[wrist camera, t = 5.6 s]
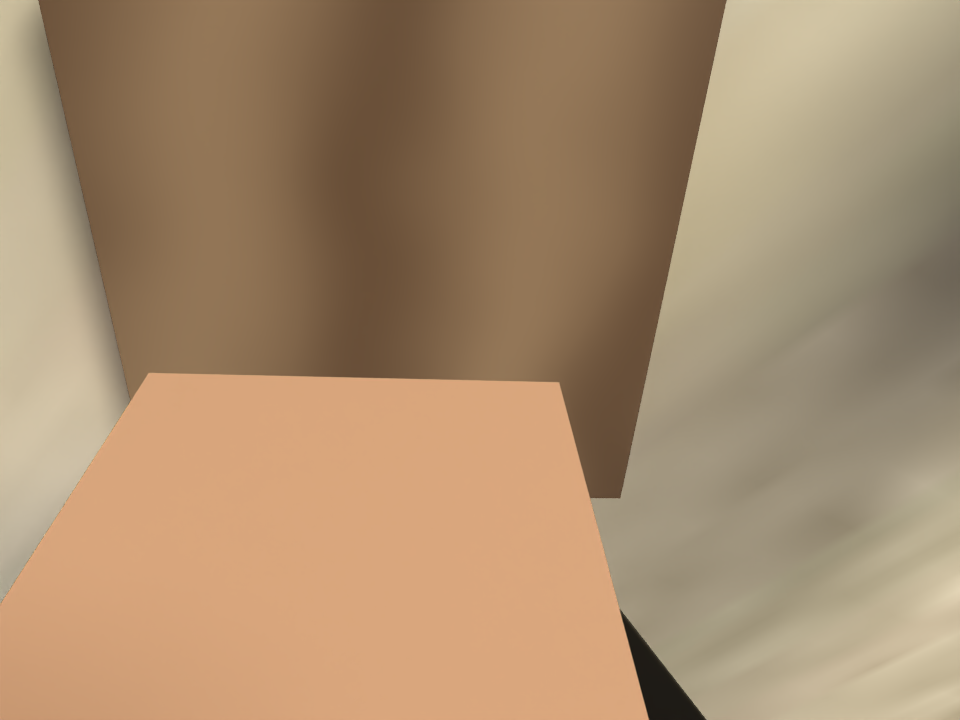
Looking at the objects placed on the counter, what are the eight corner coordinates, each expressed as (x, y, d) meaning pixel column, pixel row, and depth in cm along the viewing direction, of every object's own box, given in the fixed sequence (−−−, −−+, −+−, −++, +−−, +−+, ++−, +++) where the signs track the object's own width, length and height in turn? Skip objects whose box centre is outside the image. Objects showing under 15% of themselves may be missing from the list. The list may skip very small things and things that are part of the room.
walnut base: (694, -19, 14) (728, -11, 13) (604, 450, 21) (620, 498, 19) (77, -60, 14) (24, -59, 12) (176, 444, 20) (151, 493, 18)
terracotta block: (559, 382, 8) (693, 888, 4) (523, 641, 10) (582, 1136, 6) (149, 372, 8) (-201, 916, 4) (205, 643, 10) (37, 1168, 6)
